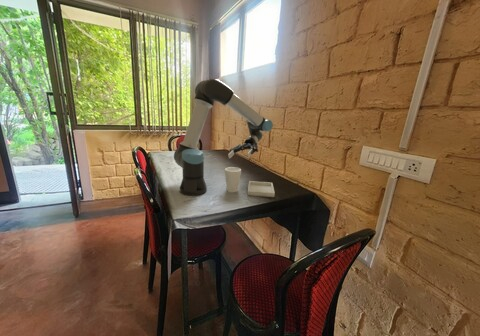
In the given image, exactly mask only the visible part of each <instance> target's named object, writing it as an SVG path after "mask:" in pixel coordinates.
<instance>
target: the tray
mask: <svg viewBox="0 0 480 336" xmlns="http://www.w3.org/2000/svg"><path fill="white" fill-rule="evenodd" d="M275 194H276V193H275V188H274V184H273V182H268V181H253V180H249V181H248V189H247V196H250V197H265V198H266V197H267V198H275Z"/></svg>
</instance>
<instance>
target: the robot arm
mask: <svg viewBox="0 0 480 336" xmlns="http://www.w3.org/2000/svg"><path fill="white" fill-rule="evenodd" d="M194 94H195V96H194V98H193V100H194V102H195V104H194V106H193V107H194V108H193V111H192V113H191V116H190V120H189V123H188V126H187V128H186V132H185V135H184V138H183V140H182V141H181V142H179V145H178V147H177V148H176V150H175V151H174V154H173V159H174V162H175V163H176V164H177V165H178V166H179V167H181V168H182V179H181V183H180V186H179V192H180V193H181V194H182V195H185V196H201V195H202V194H205V193H206V192H207V191H208V190H207V189H208V188H207V183H206V181H205V175H204V174H205V172H204V171H205V166H204V165H205V163H204V162H205V156H204V152H203V151H202V150H200V149H199V147H198V145H199V141H200V139H201V135H202V132H203V129H204V125H205V124H206V120H207V118H208V114H209V111H210V109H211V108H213V107H214V104H215V102H218V103H219V104H222V105H223V106H227V107H228V108H230V109H231V110H233V111H234V112H235V113H236V114H238V115H240V116H241V117H242V118H244V119H245V120H246V124H247V128H248V132H249V135H248V137H247V138H246V139H245V140H244V142H243V144H240V143H238V144H237V145H236V146H233V147H232V148H230V149H229V153H228V154H227V156H228V159H231V158H232V157H233V156H234V155H235V154H236V153H238V152H242V151H244V150H249V151H248V152H247V158H251V156H252V155H253V154H254V153H257V152H259V149H258V148H259V147H258V146H259V145H258V143H259V142H260V141H261V140H262V138H263V136H264V134H263V132H264V133H265V132H270V131H272V129H273V127H274V124H273V121H272V120H271V119H267V118H265V117H264V116H262V115H261V114H260V113H258V112H257V110H255V109H254V108H253V107H251V106H250V105H249V104H247V103H246V102H245V101H244V100H243V99H242V98H240V97H239V96H237V95H236V94H235V92H234V90H233V89H232V88H231V87H229V86H228V85H227V84H226V83H224V82H222V81H221V80H220V79H216V78H210V79H206V80H202V81H200V82H199V83H198V82H197V84H196V85H195V88H194Z"/></svg>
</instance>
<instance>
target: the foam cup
mask: <svg viewBox="0 0 480 336" xmlns="http://www.w3.org/2000/svg"><path fill="white" fill-rule="evenodd" d="M241 174H242V169H241V168H240V167H236V166H235V167H234V166H229V167H226V168H224V177H225V185H226V191H227V192H229V193H236V192H238V189H239V185H240V180H241Z"/></svg>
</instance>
